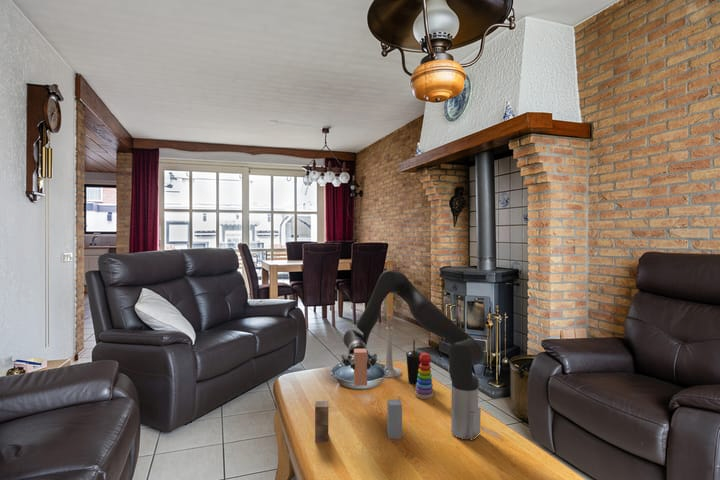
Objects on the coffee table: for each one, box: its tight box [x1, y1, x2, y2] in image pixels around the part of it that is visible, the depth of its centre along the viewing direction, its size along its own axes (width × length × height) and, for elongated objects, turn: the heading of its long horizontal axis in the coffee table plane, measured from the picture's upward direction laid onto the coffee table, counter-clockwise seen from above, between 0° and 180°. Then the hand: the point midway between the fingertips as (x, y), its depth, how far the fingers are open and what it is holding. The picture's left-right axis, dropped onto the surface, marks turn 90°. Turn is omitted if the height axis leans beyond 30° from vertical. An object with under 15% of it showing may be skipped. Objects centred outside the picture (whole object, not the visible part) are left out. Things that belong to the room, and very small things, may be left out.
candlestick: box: [384, 313, 403, 379], centre depth 204 cm, size 13×13×30 cm
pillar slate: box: [386, 398, 403, 440], centre depth 144 cm, size 4×4×12 cm
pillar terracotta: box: [353, 349, 368, 387], centre depth 148 cm, size 4×4×12 cm
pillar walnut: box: [314, 400, 329, 443], centre depth 142 cm, size 4×4×12 cm
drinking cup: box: [405, 340, 422, 385], centre depth 192 cm, size 8×8×20 cm
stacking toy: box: [414, 352, 434, 400], centre depth 177 cm, size 8×8×19 cm
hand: (361, 366), depth 145 cm, fingers closed on pillar terracotta, 4 cm apart
